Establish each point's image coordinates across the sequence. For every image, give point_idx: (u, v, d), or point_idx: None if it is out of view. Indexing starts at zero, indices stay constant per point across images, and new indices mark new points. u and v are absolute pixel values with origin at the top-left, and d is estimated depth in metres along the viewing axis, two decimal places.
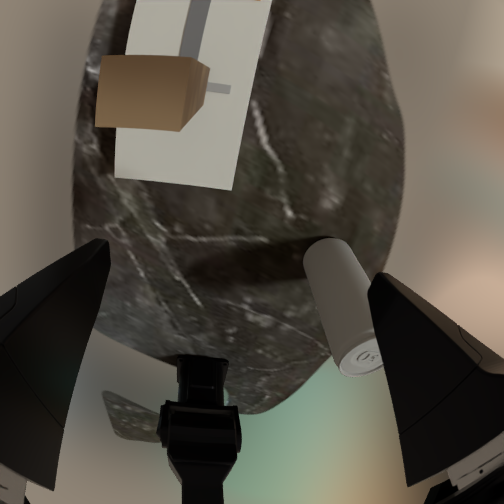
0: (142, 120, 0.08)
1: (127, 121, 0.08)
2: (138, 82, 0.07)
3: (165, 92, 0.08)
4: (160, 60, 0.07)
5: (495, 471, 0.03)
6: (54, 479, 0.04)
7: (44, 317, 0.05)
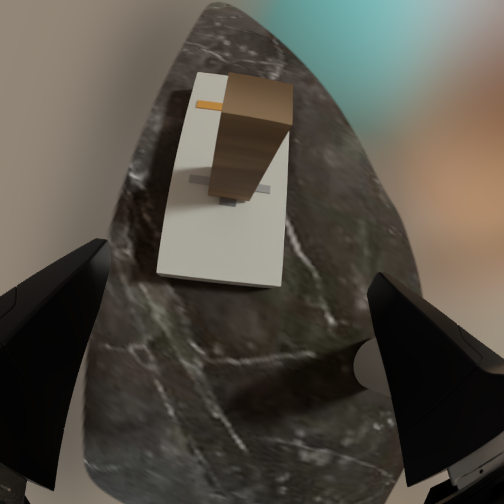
0: (263, 113, 0.11)
1: (250, 112, 0.11)
2: (258, 91, 0.11)
3: (278, 100, 0.12)
4: (272, 82, 0.12)
5: (495, 471, 0.03)
6: (54, 479, 0.04)
7: (44, 317, 0.05)
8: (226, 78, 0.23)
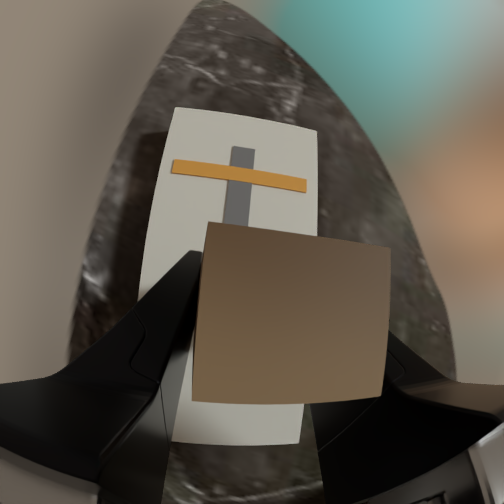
0: (313, 385, 0.04)
1: (279, 390, 0.04)
2: (302, 299, 0.04)
3: (357, 322, 0.04)
4: (342, 251, 0.04)
5: None
6: None
7: (179, 341, 0.05)
8: (220, 117, 0.16)
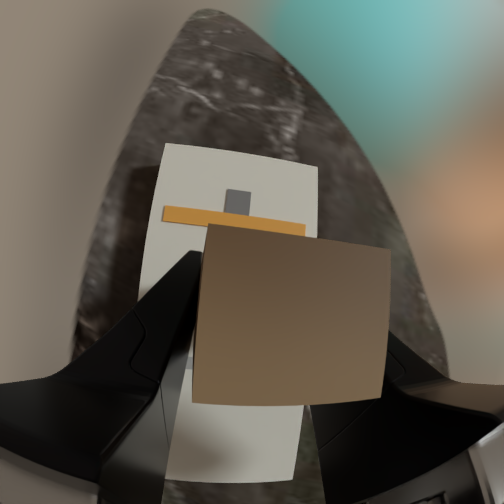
0: (313, 387, 0.04)
1: (279, 391, 0.04)
2: (302, 302, 0.04)
3: (357, 324, 0.04)
4: (342, 253, 0.04)
5: None
6: None
7: (179, 341, 0.05)
8: (213, 154, 0.15)
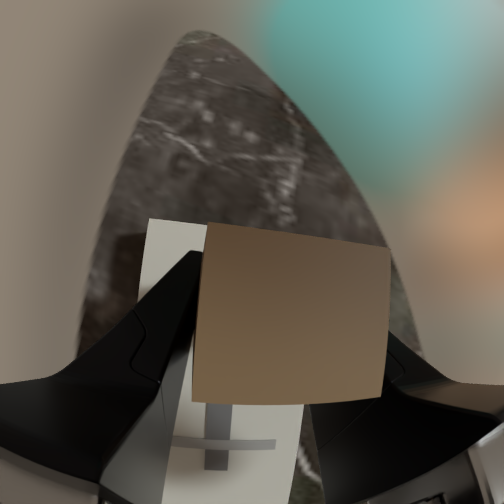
0: (313, 386, 0.04)
1: (279, 390, 0.04)
2: (302, 300, 0.04)
3: (357, 322, 0.04)
4: (341, 252, 0.04)
5: None
6: None
7: (180, 341, 0.05)
8: (202, 232, 0.14)
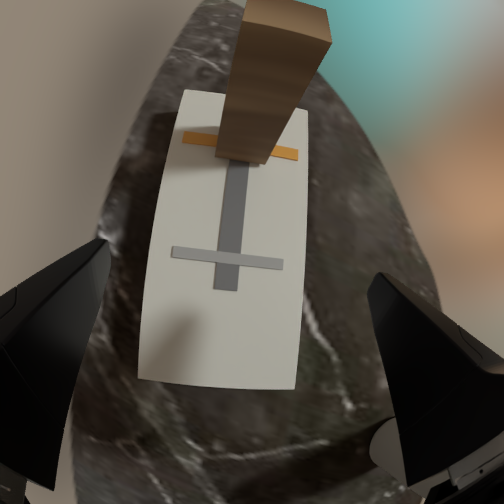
0: (295, 27, 0.07)
1: (279, 24, 0.07)
2: (286, 9, 0.08)
3: (312, 19, 0.08)
4: (302, 4, 0.08)
5: (495, 471, 0.03)
6: (54, 479, 0.04)
7: (44, 317, 0.05)
8: (223, 98, 0.18)
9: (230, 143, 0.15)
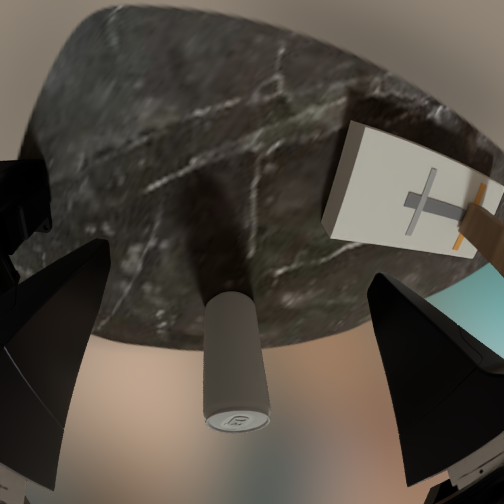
0: None
1: None
2: None
3: None
4: None
5: (495, 471, 0.03)
6: (54, 479, 0.04)
7: (44, 317, 0.05)
8: (494, 210, 0.21)
9: (479, 218, 0.19)
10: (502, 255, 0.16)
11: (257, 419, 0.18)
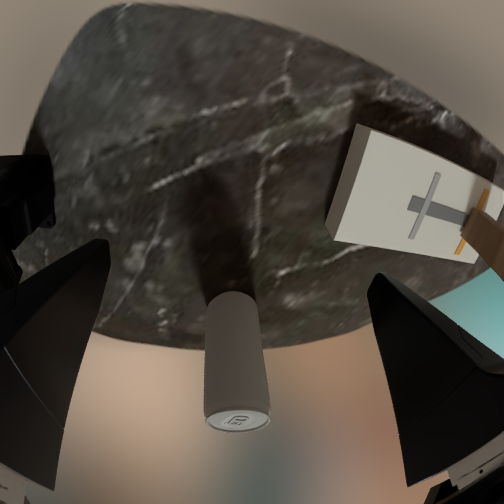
0: None
1: None
2: None
3: None
4: None
5: (495, 471, 0.03)
6: (54, 479, 0.04)
7: (44, 317, 0.05)
8: (496, 215, 0.21)
9: (481, 223, 0.19)
10: None
11: (257, 419, 0.18)
